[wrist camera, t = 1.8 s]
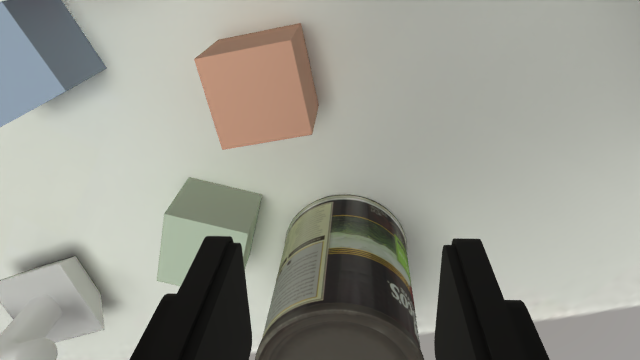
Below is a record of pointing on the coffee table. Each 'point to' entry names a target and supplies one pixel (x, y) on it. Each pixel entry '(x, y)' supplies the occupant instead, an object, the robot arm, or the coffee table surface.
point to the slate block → (40, 55)
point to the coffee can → (342, 287)
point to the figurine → (48, 309)
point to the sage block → (204, 224)
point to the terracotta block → (259, 87)
